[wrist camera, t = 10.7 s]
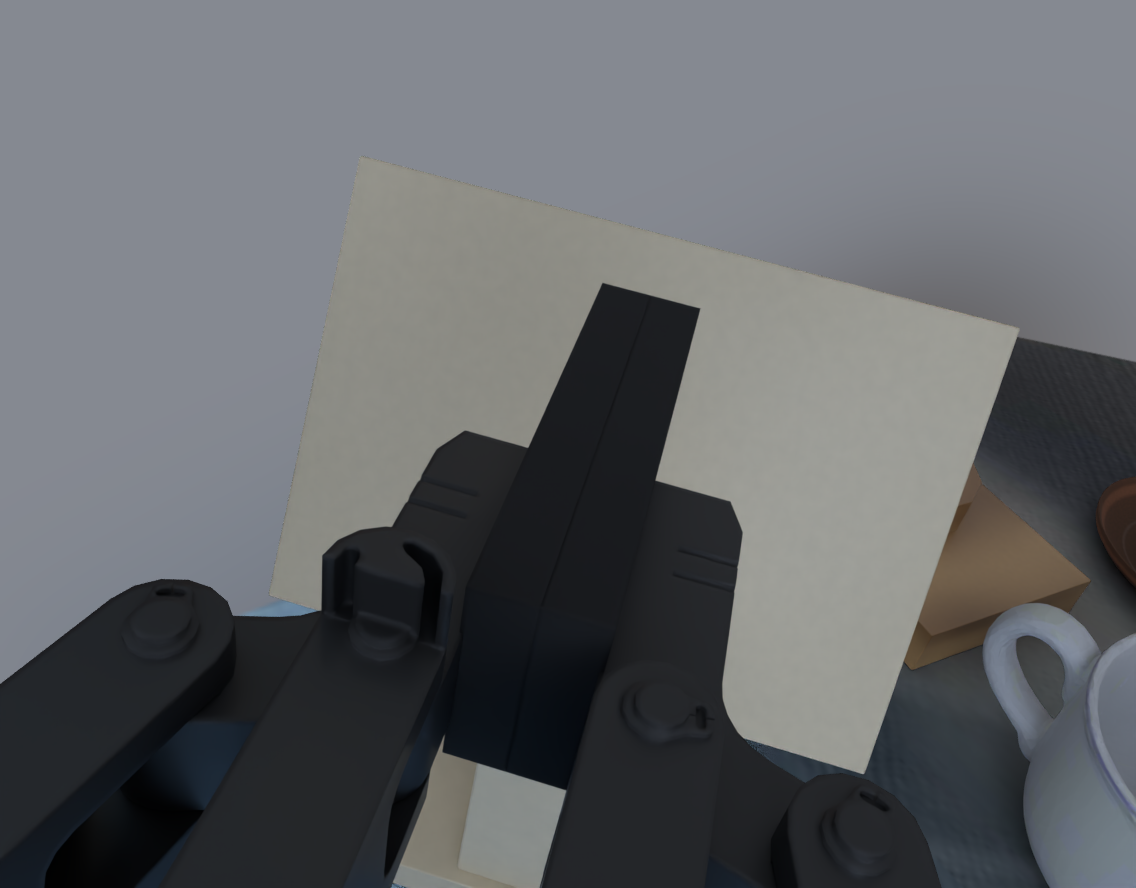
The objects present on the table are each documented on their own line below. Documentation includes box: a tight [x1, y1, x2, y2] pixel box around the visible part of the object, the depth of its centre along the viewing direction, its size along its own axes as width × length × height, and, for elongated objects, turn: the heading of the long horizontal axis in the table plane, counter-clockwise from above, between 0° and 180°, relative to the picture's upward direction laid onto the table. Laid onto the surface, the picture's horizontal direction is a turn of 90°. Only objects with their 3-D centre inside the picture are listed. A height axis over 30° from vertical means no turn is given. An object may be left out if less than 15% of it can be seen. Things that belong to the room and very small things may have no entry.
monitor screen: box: [269, 156, 1019, 774], centre depth 26 cm, size 6×18×13 cm, turn 76°
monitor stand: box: [393, 735, 566, 888], centre depth 31 cm, size 10×12×10 cm
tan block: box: [904, 463, 1091, 670], centre depth 46 cm, size 12×10×4 cm
